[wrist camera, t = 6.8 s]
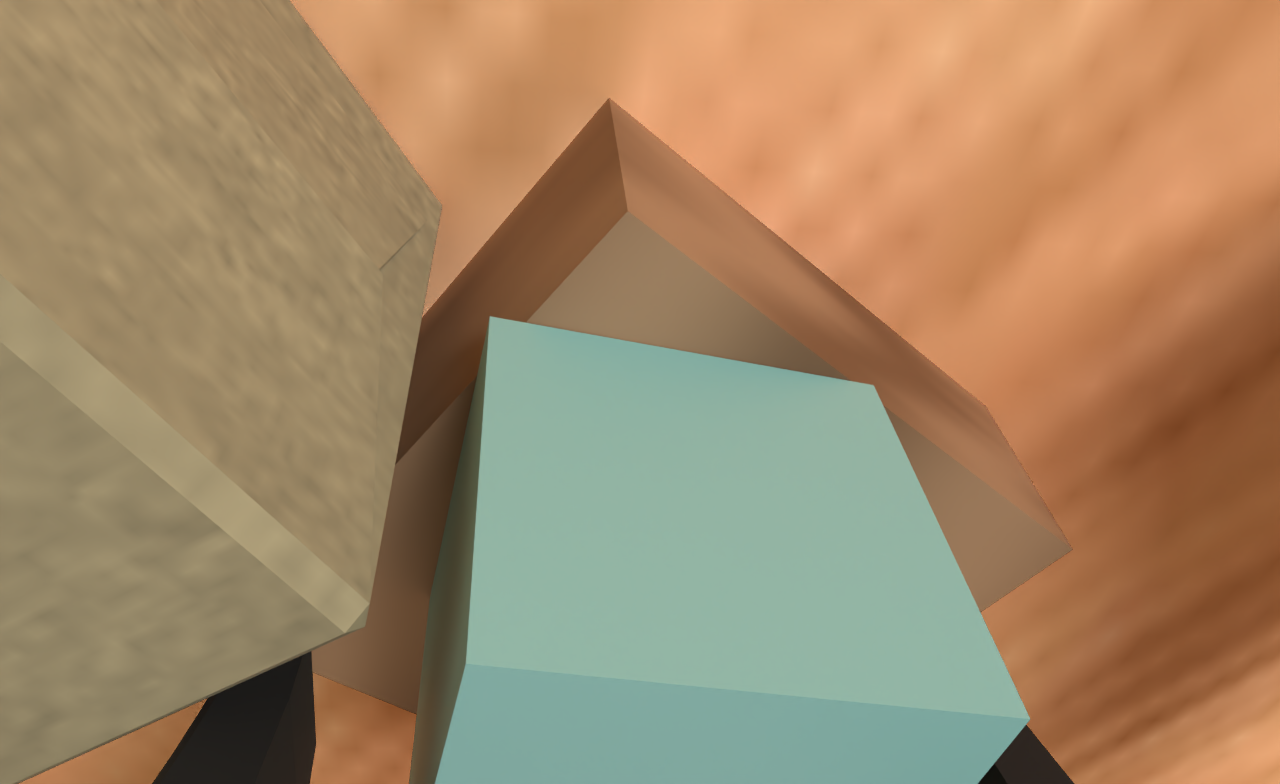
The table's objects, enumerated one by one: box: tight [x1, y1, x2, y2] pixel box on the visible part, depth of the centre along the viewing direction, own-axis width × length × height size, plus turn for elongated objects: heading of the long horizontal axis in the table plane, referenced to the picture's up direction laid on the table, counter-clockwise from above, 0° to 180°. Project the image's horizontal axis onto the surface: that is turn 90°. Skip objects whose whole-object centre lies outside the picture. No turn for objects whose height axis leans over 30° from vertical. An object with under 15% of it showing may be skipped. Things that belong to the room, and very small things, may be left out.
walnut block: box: [311, 98, 1073, 714], centre depth 16 cm, size 9×9×4 cm
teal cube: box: [409, 316, 1030, 784], centre depth 11 cm, size 5×5×5 cm
